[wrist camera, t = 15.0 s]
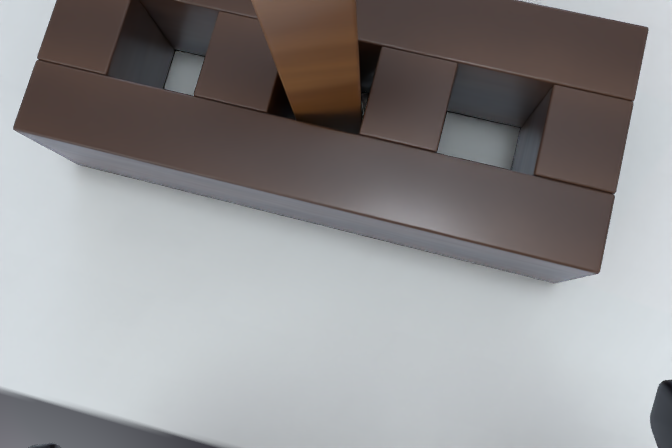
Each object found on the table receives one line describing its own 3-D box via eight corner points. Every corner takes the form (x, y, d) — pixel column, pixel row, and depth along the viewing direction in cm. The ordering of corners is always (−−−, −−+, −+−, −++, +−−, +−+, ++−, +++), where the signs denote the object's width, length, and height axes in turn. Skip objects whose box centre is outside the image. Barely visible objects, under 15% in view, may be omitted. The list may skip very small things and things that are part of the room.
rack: (556, 284, 23) (600, 274, 18) (76, 164, 25) (11, 129, 20) (598, 81, 24) (649, 26, 19) (136, -19, 26) (86, -90, 21)
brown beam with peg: (425, 138, 24) (518, -187, 9) (245, 157, 24) (31, -125, 9) (419, 85, 24) (497, -319, 9) (242, 103, 25) (28, -256, 9)
